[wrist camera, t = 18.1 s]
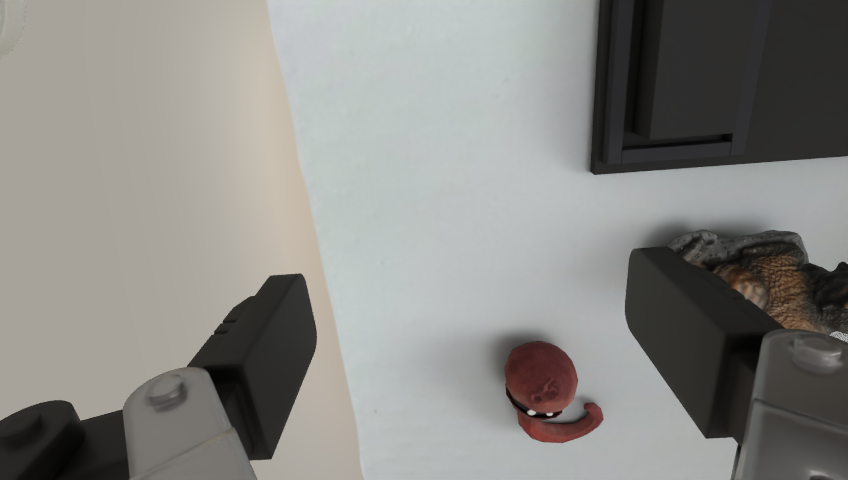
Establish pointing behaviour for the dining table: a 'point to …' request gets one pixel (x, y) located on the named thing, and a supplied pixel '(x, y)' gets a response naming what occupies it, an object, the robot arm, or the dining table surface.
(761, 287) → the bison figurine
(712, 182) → the dining table surface
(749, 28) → the strip pad
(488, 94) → the dining table surface
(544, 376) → the hook toy
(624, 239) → the dining table surface
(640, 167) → the dock pad
